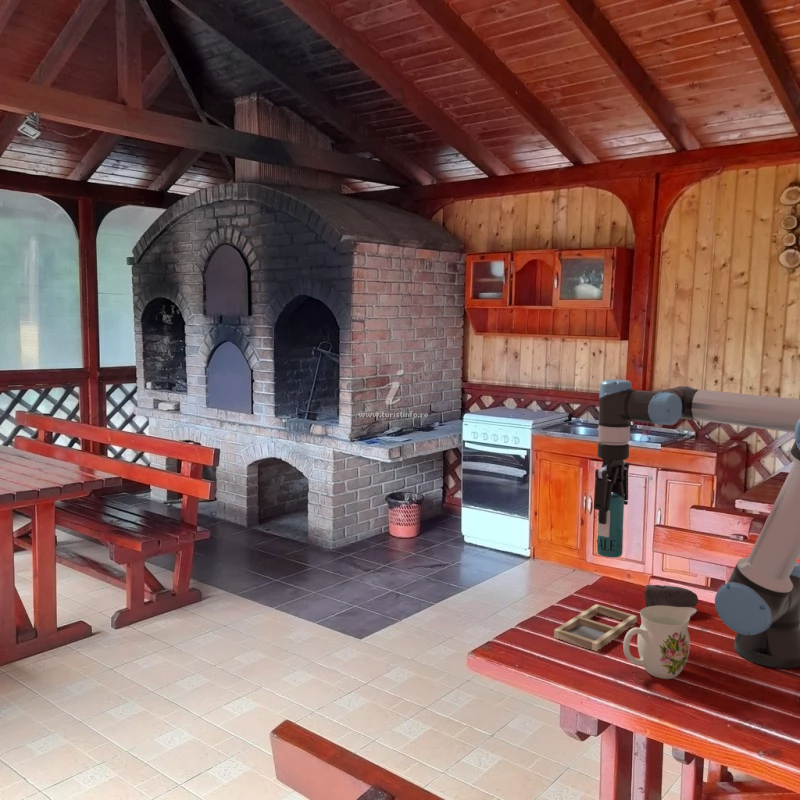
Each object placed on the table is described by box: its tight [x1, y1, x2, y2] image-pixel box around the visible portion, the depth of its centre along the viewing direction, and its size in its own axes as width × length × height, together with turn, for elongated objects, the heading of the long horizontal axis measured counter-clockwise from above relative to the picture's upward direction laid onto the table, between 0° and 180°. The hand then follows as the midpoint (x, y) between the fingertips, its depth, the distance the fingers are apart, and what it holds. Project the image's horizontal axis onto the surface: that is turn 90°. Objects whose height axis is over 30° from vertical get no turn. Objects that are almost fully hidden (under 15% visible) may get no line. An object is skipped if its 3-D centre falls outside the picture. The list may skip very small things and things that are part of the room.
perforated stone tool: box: [643, 584, 699, 608], centre depth 200 cm, size 15×5×7 cm, turn 89°
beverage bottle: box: [596, 482, 625, 558], centre depth 188 cm, size 6×7×20 cm
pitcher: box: [622, 606, 698, 680], centre depth 166 cm, size 11×18×14 cm, turn 106°
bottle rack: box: [553, 603, 638, 651], centre depth 188 cm, size 22×11×2 cm, turn 138°
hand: (610, 532), depth 188 cm, fingers closed on beverage bottle, 6 cm apart
